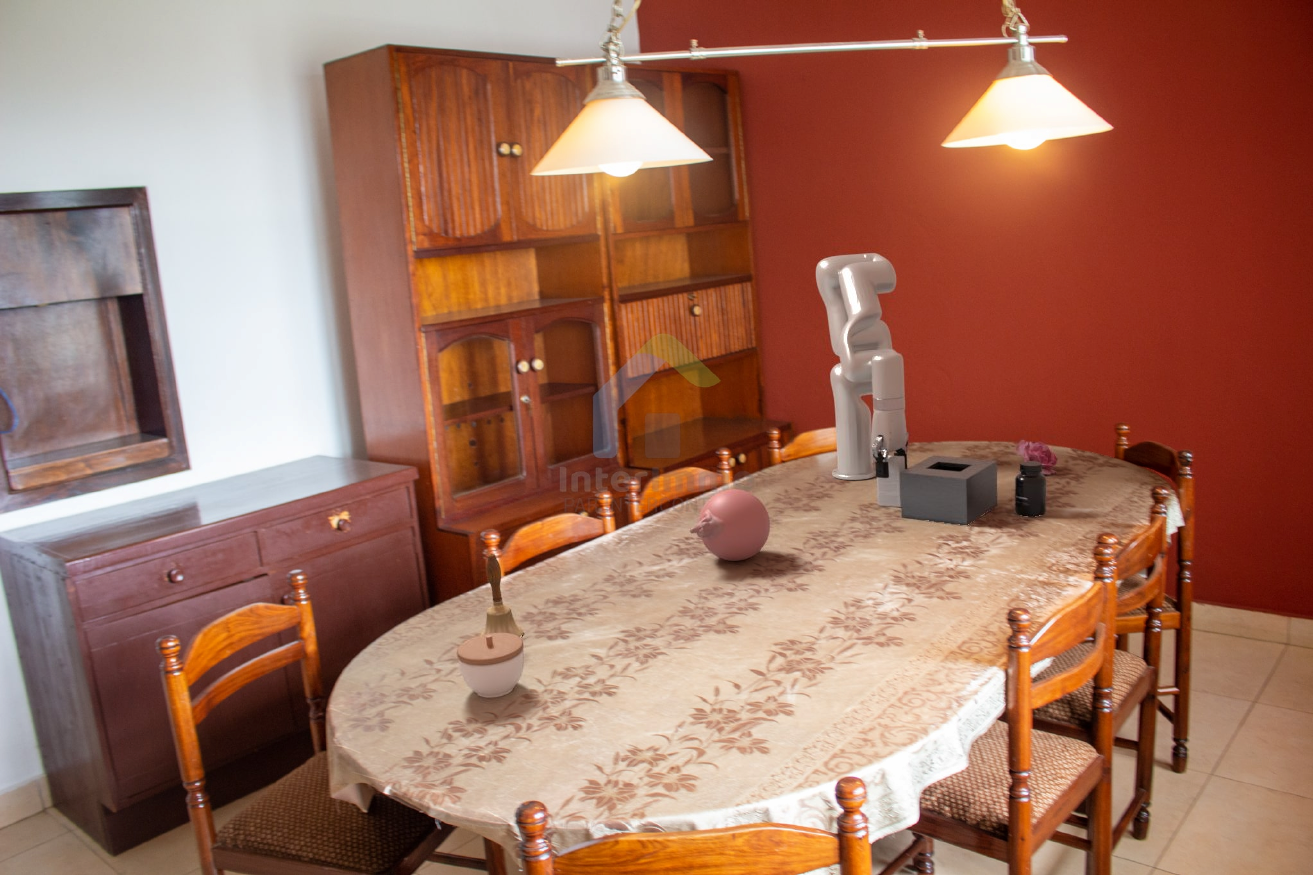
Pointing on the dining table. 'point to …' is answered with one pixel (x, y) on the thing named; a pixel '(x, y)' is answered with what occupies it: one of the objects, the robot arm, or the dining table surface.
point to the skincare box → (891, 483)
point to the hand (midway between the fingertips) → (891, 473)
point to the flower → (1038, 455)
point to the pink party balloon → (733, 525)
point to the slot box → (949, 489)
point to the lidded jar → (491, 663)
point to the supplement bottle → (1030, 490)
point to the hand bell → (498, 604)
